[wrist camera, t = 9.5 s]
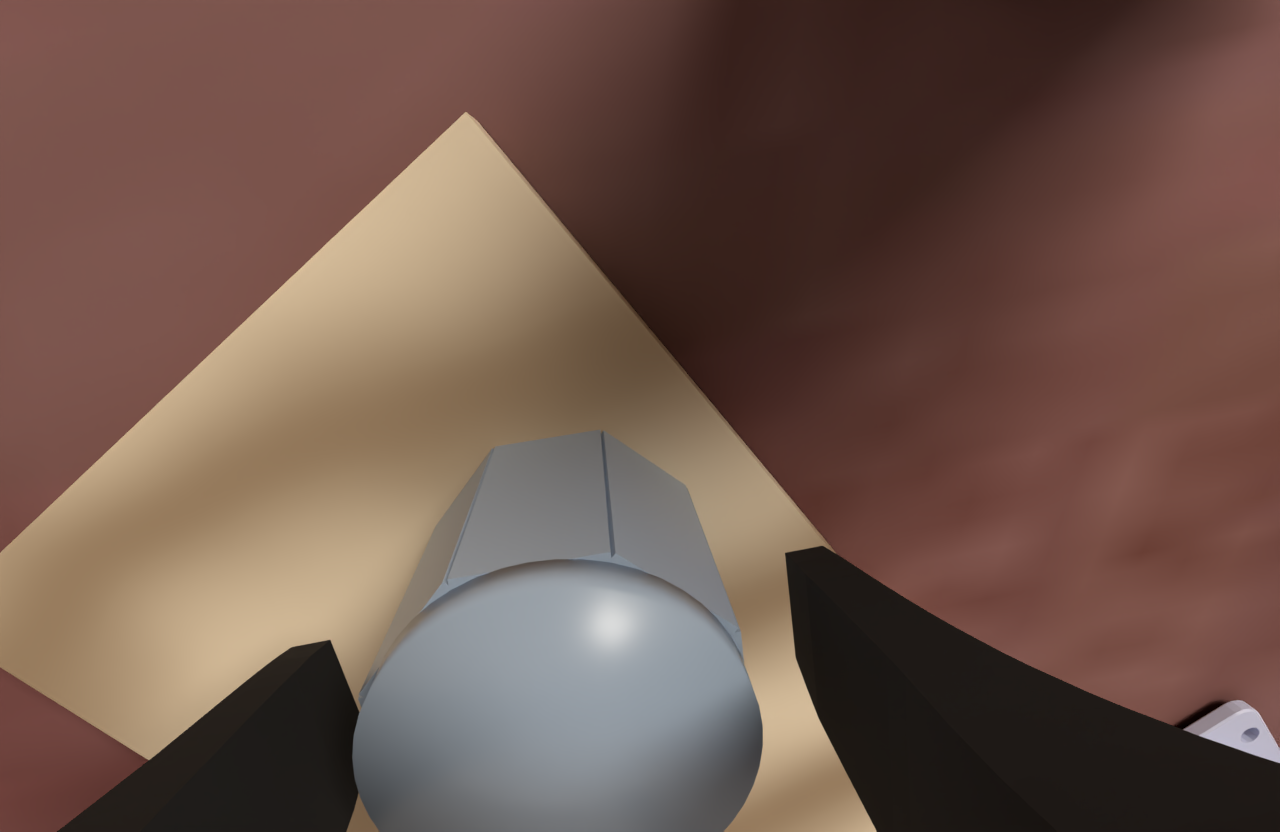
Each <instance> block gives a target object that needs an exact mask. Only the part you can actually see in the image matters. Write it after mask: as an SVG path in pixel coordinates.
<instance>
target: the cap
mask: <svg viewBox="0 0 1280 832" xmlns="http://www.w3.org/2000/svg"><path fill="white" fill-rule="evenodd" d="M358 700H359V703H360V705H361V710H360V713H359V716H358V720H357V724H356V728H355V732H354V737H353V753H352V760H353V769H354V777H355V781H356V785H357V788H358V792H359V795H360V798H361V801H362V803H363V805H364V807H365V809H366V811H367V813H368V815H369V817H370V819H371V820H372V821H373V823H374V824H375V826H376V827H377V829H378V830H379V831H380V832H724V830H725V829H726V828H727V827H728V826H729V825H730V824H731V822H732V821H733V820H734V818H735V817H736V815H737V814H738V812H739V811H740V810H741V808H742V807H743V805H744V804H745V802H746V800H747V798H748V795H749V793H750V791H751V789H752V787H753V785H754V782H755V779H756V776H757V773H758V770H759V767H760V761H761V755H762V748H763V725H762V719H761V713H760V708H759V704H758V701H757V698H756V695H755V693H754V690H753V687H752V684H751V681H750V679H749V676H748V673H747V670H746V667H745V665H744V657H743V647H742V637H741V630H740V628H739V625H738V622H737V620H736V617H735V614H734V612H733V609H732V606H731V604H730V601H729V598H728V596H727V593H726V590H725V588H724V585H723V582H722V580H721V577H720V574H719V572H718V569H717V566H716V563H715V561H714V558H713V555H712V553H711V550H710V547H709V545H708V542H707V539H706V537H705V534H704V531H703V529H702V526H701V523H700V521H699V518H698V515H697V513H696V510H695V507H694V505H693V502H692V499H691V497H690V494H689V491H688V489H687V488H686V485H685V484H683V483H682V482H680V481H679V480H677V479H676V478H674V477H673V476H671V475H670V474H668V473H667V472H665V471H664V470H662V469H661V468H659V467H658V466H656V465H655V464H653V463H652V462H650V461H649V460H647V459H646V458H644V457H643V456H641V455H640V454H638V453H637V452H635V451H634V450H632V449H631V448H629V447H628V446H626V445H625V444H623V443H622V442H620V441H619V440H617V439H616V438H614V437H613V436H611V435H610V434H608V433H607V432H605V431H603V432H602V433H601V431H600V430H595V431H588V432H582V433H576V434H570V435H563V436H557V437H551V438H545V439H539V440H532V441H526V442H520V443H514V444H507V445H501V446H495V448H494V449H493V448H492V449H491V451H490V452H489V453H488V455H487V456H486V458H485V459H484V460H483V462H482V463H481V464H480V466H479V467H478V469H477V470H476V471H475V473H474V474H473V475H472V477H471V478H470V480H469V481H468V482H467V484H466V485H465V487H464V488H463V489H462V491H461V492H460V493H459V495H458V496H457V498H456V499H455V500H454V502H453V503H452V504H451V506H450V507H449V509H448V510H447V511H446V513H445V514H444V516H443V517H442V518H441V520H440V521H439V522H438V524H437V525H436V527H435V529H434V531H433V533H432V535H431V538H430V540H429V542H428V544H427V546H426V548H425V551H424V553H423V555H422V557H421V559H420V562H419V564H418V566H417V568H416V570H415V573H414V575H413V577H412V579H411V581H410V583H409V586H408V588H407V590H406V592H405V594H404V597H403V599H402V601H401V603H400V605H399V608H398V610H397V612H396V614H395V616H394V618H393V621H392V623H391V625H390V627H389V629H388V632H387V634H386V636H385V638H384V640H383V642H382V645H381V647H380V649H379V651H378V653H377V656H376V658H375V660H374V662H373V664H372V667H371V669H370V671H369V673H368V675H367V677H366V680H365V682H364V684H363V686H362V688H361V691H360V693H359V698H358Z"/></svg>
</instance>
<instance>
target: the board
mask: <svg viewBox="0 0 1280 832" xmlns="http://www.w3.org/2000/svg"><path fill="white" fill-rule="evenodd" d="M595 430H600V431H601V433H602V432H603V431H605V432H607V433H608V434H610V435H611V436H613V437H614V438H616V439H617V440H619V441H620V442H622V443H623V444H625V445H626V446H628V447H629V448H631V449H632V450H634V451H635V452H637V453H638V454H640V455H641V456H643V457H644V458H646V459H647V460H649V461H650V462H652V463H653V464H655V465H656V466H658V467H659V468H661V469H662V470H664V471H665V472H667V473H668V474H670V475H671V476H673V477H674V478H676V479H677V480H679V481H680V482H682V483H683V484H685V485H686V488H687V489H688V491H689V494H690V497H691V499H692V502H693V505H694V507H695V510H696V513H697V515H698V518H699V521H700V523H701V526H702V529H703V531H704V534H705V537H706V539H707V542H708V545H709V547H710V550H711V553H712V555H713V558H714V561H715V563H716V566H717V569H718V572H719V574H720V577H721V580H722V582H723V585H724V588H725V590H726V593H727V596H728V598H729V601H730V604H731V606H732V609H733V612H734V614H735V617H736V620H737V622H738V625H739V628H740V630H741V637H742V647H743V657H744V665H745V667H746V670H747V673H748V676H749V679H750V681H751V684H752V687H753V690H754V693H755V695H756V698H757V701H758V704H759V708H760V713H761V719H762V725H763V748H762V755H761V761H760V767H759V770H758V773H757V776H756V779H755V782H754V785H753V787H752V789H751V791H750V793H749V795H748V798H747V800H746V802H745V804H744V805H743V807H742V808H741V810H740V811H739V812H738V814H737V815H736V817H735V818H734V820H733V821H732V822H731V824H730V825H729V826H728V827H727V828H726V829H725V830H724V832H877V831H876V829H875V827H874V825H873V823H872V821H871V819H870V818H869V816H868V814H867V812H866V810H865V808H864V806H863V804H862V802H861V800H860V798H859V796H858V794H857V792H856V791H855V789H854V787H853V785H852V783H851V781H850V779H849V777H848V775H847V773H846V771H845V769H844V767H843V765H842V763H841V761H840V760H839V758H838V756H837V754H836V752H835V750H834V748H833V746H832V744H831V742H830V740H829V738H828V736H827V734H826V732H825V730H824V728H823V726H822V724H821V722H820V720H819V718H818V716H817V713H816V710H815V708H814V705H813V703H812V700H811V698H810V695H809V692H808V690H807V687H806V684H805V682H804V679H803V676H802V674H801V671H800V668H799V666H798V663H797V660H796V657H795V647H794V637H793V627H792V617H791V608H790V598H789V588H788V578H787V568H786V558H785V553H787V552H792V551H797V550H802V549H808V548H813V547H818V546H824V547H826V548H828V549H829V550H831V551H832V552H834V553H836V552H835V551H834V550H833V549H832V547H831V546H830V545H829V544H828V543H827V541H826V540H825V539H824V538H823V537H822V535H821V534H820V533H819V532H818V531H817V529H816V528H815V527H814V526H813V525H812V523H811V522H810V521H809V520H808V519H807V517H806V516H805V515H804V514H803V513H802V511H801V510H800V509H799V508H798V506H797V505H796V504H795V503H794V502H793V500H792V499H791V498H790V497H789V496H788V494H787V493H786V492H785V491H784V490H783V488H782V487H781V486H780V485H779V484H778V482H777V481H776V480H775V479H774V478H773V476H772V475H771V474H770V473H769V472H768V470H767V469H766V468H765V467H764V466H763V464H762V463H761V462H760V461H759V460H758V458H757V457H756V456H755V455H754V453H753V452H752V451H751V450H750V449H749V447H748V446H747V445H746V444H745V443H744V441H743V440H742V439H741V438H740V437H739V435H738V434H737V433H736V432H735V431H734V429H733V428H732V427H731V426H730V425H729V423H728V422H727V421H726V420H725V419H724V417H723V416H722V415H721V414H720V413H719V411H718V410H717V409H716V408H715V407H714V405H713V404H712V403H711V402H710V401H709V399H708V398H707V397H706V396H705V394H704V393H703V392H702V391H701V390H700V388H699V387H698V386H697V385H696V384H695V382H694V381H693V380H692V379H691V378H690V376H689V375H688V374H687V373H686V372H685V370H684V369H683V368H682V367H681V366H680V364H679V363H678V362H677V361H676V360H675V358H674V357H673V356H672V355H671V354H670V352H669V351H668V350H667V349H666V348H665V346H664V345H663V344H662V343H661V341H660V340H659V339H658V338H657V337H656V335H655V334H654V333H653V332H652V331H651V329H650V328H649V327H648V326H647V325H646V323H645V322H644V321H643V320H642V319H641V317H640V316H639V315H638V314H637V313H636V311H635V310H634V309H633V308H632V307H631V305H630V304H629V303H628V302H627V301H626V299H625V298H624V297H623V296H622V295H621V293H620V292H619V291H618V290H617V288H616V287H615V286H614V285H613V284H612V282H611V281H610V280H609V279H608V278H607V276H606V275H605V274H604V273H603V272H602V270H601V269H600V268H599V267H598V266H597V264H596V263H595V262H594V261H593V260H592V258H591V257H590V256H589V255H588V254H587V252H586V251H585V250H584V249H583V248H582V246H581V245H580V244H579V243H578V242H577V240H576V239H575V238H574V237H573V235H572V234H571V233H570V232H569V231H568V229H567V228H566V227H565V226H564V225H563V223H562V222H561V221H560V220H559V219H558V217H557V216H556V215H555V214H554V213H553V211H552V210H551V209H550V208H549V207H548V205H547V204H546V203H545V202H544V201H543V199H542V198H541V197H540V196H539V195H538V193H537V192H536V191H535V190H534V189H533V187H532V186H531V185H530V184H529V183H528V181H527V180H526V179H525V178H524V176H523V175H522V174H521V173H520V172H519V170H518V169H517V168H516V167H515V166H514V164H513V163H512V162H511V161H510V160H509V158H508V157H507V156H506V155H505V154H504V152H503V151H502V150H501V149H500V148H499V146H498V145H497V144H496V143H495V142H494V140H493V139H492V138H491V137H490V136H489V134H488V133H487V132H486V131H485V130H484V128H483V127H482V126H481V125H480V123H479V122H478V121H477V120H475V119H474V118H473V117H472V116H470V115H469V114H468V113H467V112H465V113H464V114H463V115H462V116H461V117H460V118H459V119H458V120H457V121H456V122H455V123H454V124H453V125H451V126H450V127H449V128H448V129H447V130H446V131H445V132H444V133H443V134H442V135H441V136H440V137H439V138H438V139H437V140H436V141H435V142H434V143H432V144H431V145H430V146H429V147H428V148H427V149H426V150H425V151H424V152H423V153H422V154H421V155H420V156H419V157H418V158H417V159H416V160H415V161H413V162H412V163H411V164H410V165H409V166H408V167H407V168H406V169H405V170H404V171H403V172H402V173H401V174H400V175H399V176H398V177H397V178H396V179H394V180H393V181H392V182H391V183H390V184H389V185H388V186H387V187H386V188H385V189H384V190H383V191H382V192H381V193H380V194H379V195H378V196H377V197H375V198H374V199H373V200H372V201H371V202H370V203H369V204H368V205H367V206H366V207H365V208H364V209H363V210H362V211H361V212H360V213H359V214H358V215H356V216H355V217H354V218H353V219H352V220H351V221H350V222H349V223H348V224H347V225H346V226H345V227H344V228H343V229H342V230H341V231H340V232H339V233H337V234H336V235H335V236H334V237H333V238H332V239H331V240H330V241H329V242H328V243H327V244H326V245H325V246H324V247H323V248H322V249H321V250H320V251H318V252H317V253H316V254H315V255H314V256H313V257H312V258H311V259H310V260H309V261H308V262H307V263H306V264H305V265H304V266H303V267H302V268H301V269H299V270H298V271H297V272H296V273H295V274H294V275H293V276H292V277H291V278H290V279H289V280H288V281H287V282H286V283H285V284H284V285H283V286H282V287H280V288H279V289H278V290H277V291H276V292H275V293H274V294H273V295H272V296H271V297H270V298H269V299H268V300H267V301H266V302H265V303H264V304H263V305H261V306H260V307H259V308H258V309H257V310H256V311H255V312H254V313H253V314H252V315H251V316H250V317H249V318H248V319H247V320H246V321H245V322H244V323H242V324H241V325H240V326H239V327H238V328H237V329H236V330H235V331H234V332H233V333H232V334H231V335H230V336H229V337H228V338H227V339H226V340H225V341H223V342H222V343H221V344H220V345H219V346H218V347H217V348H216V349H215V350H214V351H213V352H212V353H211V354H210V355H209V356H208V357H207V358H205V359H204V360H203V361H202V362H201V363H200V364H199V365H198V366H197V367H196V368H195V369H194V370H193V371H192V372H191V373H190V374H189V375H188V376H186V377H185V378H184V379H183V380H182V381H181V382H180V383H179V384H178V385H177V386H176V387H175V388H174V389H173V390H172V391H171V392H170V393H169V394H167V395H166V396H165V397H164V398H163V399H162V400H161V401H160V402H159V403H158V404H157V405H156V406H155V407H154V408H153V409H152V410H151V411H150V412H148V413H147V414H146V415H145V416H144V417H143V418H142V419H141V420H140V421H139V422H138V423H137V424H136V425H135V426H134V427H133V428H132V429H131V430H129V431H128V432H127V433H126V434H125V435H124V436H123V437H122V438H121V439H120V440H119V441H118V442H117V443H116V444H115V445H114V446H113V447H112V448H110V449H109V450H108V451H107V452H106V453H105V454H104V455H103V456H102V457H101V458H100V459H99V460H98V461H97V462H96V463H95V464H94V465H93V466H91V467H90V468H89V469H88V470H87V471H86V472H85V473H84V474H83V475H82V476H81V477H80V478H79V479H78V480H77V481H76V482H75V483H74V484H72V485H71V486H70V487H69V488H68V489H67V490H66V491H65V492H64V493H63V494H62V495H61V496H60V497H59V498H58V499H57V500H56V501H55V502H53V503H52V504H51V505H50V506H49V507H48V508H47V509H46V510H45V511H44V512H43V513H42V514H41V515H40V516H39V517H38V518H37V519H36V520H34V521H33V522H32V523H31V524H30V525H29V526H28V527H27V528H26V529H25V530H24V531H23V532H22V533H21V534H20V535H19V536H18V537H17V538H15V539H14V540H13V541H12V542H11V543H10V544H9V545H8V546H7V547H6V548H5V549H4V550H3V551H2V552H1V553H0V667H1V668H2V669H4V670H6V671H7V672H9V673H10V674H12V675H13V676H15V677H17V678H18V679H20V680H21V681H23V682H25V683H26V684H28V685H29V686H31V687H33V688H34V689H36V690H37V691H39V692H41V693H42V694H44V695H45V696H47V697H49V698H50V699H52V700H53V701H55V702H57V703H58V704H60V705H61V706H63V707H65V708H66V709H68V710H69V711H71V712H73V713H74V714H76V715H77V716H79V717H81V718H82V719H84V720H85V721H87V722H89V723H90V724H92V725H93V726H95V727H96V728H98V729H100V730H101V731H103V732H104V733H106V734H108V735H109V736H111V737H112V738H114V739H116V740H117V741H119V742H120V743H122V744H124V745H125V746H127V747H128V748H130V749H132V750H133V751H135V752H136V753H138V754H140V755H141V756H143V757H144V758H146V759H148V760H150V759H151V758H152V757H154V756H155V755H156V754H157V753H159V752H160V751H161V750H162V749H164V748H165V747H166V746H167V745H168V744H170V743H171V742H172V741H173V740H175V739H176V738H177V737H178V736H179V735H181V734H182V733H183V732H184V731H186V730H187V729H188V728H189V727H190V726H192V725H193V724H194V723H195V722H197V721H198V720H199V719H200V718H201V717H203V716H204V715H205V714H206V713H208V712H209V711H210V710H211V709H212V708H214V707H215V706H216V705H217V704H219V703H220V702H221V701H222V700H223V699H225V698H226V697H227V696H228V695H229V694H231V693H232V692H233V691H234V690H236V689H237V688H238V687H239V686H241V685H242V684H243V683H244V682H245V681H247V680H248V679H249V678H251V677H252V676H253V675H254V674H256V673H257V672H258V671H259V670H261V669H262V668H263V667H265V666H266V665H267V664H268V663H270V662H271V661H272V660H274V659H275V658H276V657H278V656H279V655H281V654H282V653H284V652H285V651H287V650H288V649H289V648H291V647H295V646H300V645H305V644H311V643H316V642H321V641H326V640H331V643H332V645H333V648H334V650H335V653H336V655H337V658H338V660H339V663H340V665H341V668H342V670H343V673H344V675H345V678H346V680H347V683H348V685H349V687H350V690H351V692H352V695H353V697H354V700H355V702H356V705H357V707H358V710H359V712H360V710H361V705H360V703H359V700H358V698H359V693H360V691H361V688H362V686H363V684H364V682H365V680H366V677H367V675H368V673H369V671H370V669H371V667H372V664H373V662H374V660H375V658H376V656H377V653H378V651H379V649H380V647H381V645H382V642H383V640H384V638H385V636H386V634H387V632H388V629H389V627H390V625H391V623H392V621H393V618H394V616H395V614H396V612H397V610H398V608H399V605H400V603H401V601H402V599H403V597H404V594H405V592H406V590H407V588H408V586H409V583H410V581H411V579H412V577H413V575H414V573H415V570H416V568H417V566H418V564H419V562H420V559H421V557H422V555H423V553H424V551H425V548H426V546H427V544H428V542H429V540H430V538H431V535H432V533H433V531H434V529H435V527H436V525H437V524H438V522H439V521H440V520H441V518H442V517H443V516H444V514H445V513H446V511H447V510H448V509H449V507H450V506H451V504H452V503H453V502H454V500H455V499H456V498H457V496H458V495H459V493H460V492H461V491H462V489H463V488H464V487H465V485H466V484H467V482H468V481H469V480H470V478H471V477H472V475H473V474H474V473H475V471H476V470H477V469H478V467H479V466H480V464H481V463H482V462H483V460H484V459H485V458H486V456H487V455H488V453H489V452H490V451H491V449H492V448H493V449H494V448H495V446H501V445H507V444H514V443H520V442H526V441H532V440H539V439H545V438H551V437H557V436H563V435H570V434H576V433H582V432H588V431H595ZM836 554H837V553H836ZM346 832H380V831H379V830H378V829H377V827H376V826H375V824H374V823H373V821H372V820H371V819H370V817H369V815H368V813H367V811H366V809H365V807H364V805H363V803H362V801H361V798H360V795H359V793H358V797H357V801H356V805H355V809H354V812H353V815H352V817H351V820H350V823H349V826H348V829H347V831H346Z"/></svg>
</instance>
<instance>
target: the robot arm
mask: <svg viewBox="0 0 1280 832" xmlns="http://www.w3.org/2000/svg"><path fill="white" fill-rule="evenodd" d="M785 558H786V568H787V578H788V588H789V598H790V608H791V617H792V627H793V637H794V647H795V657H796V660H797V663H798V666H799V668H800V671H801V674H802V676H803V679H804V682H805V684H806V687H807V690H808V692H809V695H810V698H811V700H812V703H813V705H814V708H815V710H816V713H817V716H818V718H819V720H820V722H821V724H822V726H823V728H824V730H825V732H826V734H827V736H828V738H829V740H830V742H831V744H832V746H833V748H834V750H835V752H836V754H837V756H838V758H839V760H840V761H841V763H842V765H843V767H844V769H845V771H846V773H847V775H848V777H849V779H850V781H851V783H852V785H853V787H854V789H855V791H856V792H857V794H858V796H859V798H860V800H861V802H862V804H863V806H864V808H865V810H866V812H867V814H868V816H869V818H870V819H871V821H872V823H873V825H874V827H875V829H876V831H877V832H1280V749H1279V747H1278V745H1277V743H1276V742H1275V740H1274V738H1273V737H1272V735H1271V733H1270V731H1269V730H1268V728H1267V726H1266V725H1265V723H1264V721H1263V719H1262V718H1261V716H1260V714H1259V713H1258V712H1257V711H1256V710H1255V709H1253V708H1252V707H1251V706H1249V705H1248V704H1247V703H1245V702H1244V701H1240V700H1234V701H1229V702H1227V703H1225V704H1223V705H1221V706H1220V707H1218V708H1216V709H1215V710H1213V711H1211V712H1210V713H1208V714H1207V715H1205V716H1203V717H1202V718H1200V719H1199V720H1197V721H1195V722H1194V723H1192V724H1191V725H1189V726H1187V727H1186V728H1184V729H1180V728H1177V727H1175V726H1172V725H1169V724H1167V723H1164V722H1161V721H1159V720H1156V719H1154V718H1151V717H1148V716H1146V715H1143V714H1140V713H1138V712H1135V711H1133V710H1130V709H1127V708H1125V707H1122V706H1120V705H1117V704H1115V703H1113V702H1110V701H1108V700H1105V699H1103V698H1100V697H1098V696H1096V695H1093V694H1091V693H1089V692H1086V691H1084V690H1082V689H1080V688H1077V687H1075V686H1073V685H1071V684H1068V683H1066V682H1064V681H1062V680H1060V679H1057V678H1055V677H1053V676H1051V675H1049V674H1046V673H1044V672H1042V671H1040V670H1038V669H1035V668H1033V667H1031V666H1029V665H1027V664H1025V663H1023V662H1021V661H1019V660H1017V659H1014V658H1012V657H1010V656H1008V655H1006V654H1004V653H1002V652H1000V651H998V650H997V649H995V648H993V647H991V646H989V645H987V644H985V643H983V642H982V641H980V640H978V639H976V638H974V637H972V636H970V635H968V634H967V633H965V632H963V631H961V630H959V629H957V628H955V627H954V626H952V625H950V624H948V623H947V622H945V621H943V620H941V619H940V618H938V617H936V616H934V615H933V614H931V613H929V612H927V611H926V610H924V609H922V608H921V607H919V606H917V605H916V604H914V603H912V602H911V601H909V600H907V599H906V598H904V597H903V596H901V595H899V594H898V593H896V592H895V591H893V590H891V589H890V588H888V587H887V586H885V585H883V584H882V583H880V582H879V581H877V580H876V579H874V578H872V577H871V576H869V575H868V574H866V573H865V572H863V571H862V570H860V569H859V568H857V567H855V566H854V565H852V564H851V563H849V562H848V561H846V560H845V559H843V558H842V557H840V556H839V555H837V554H836V553H834V552H832V551H831V550H829V549H828V548H826V547H824V546H818V547H813V548H808V549H802V550H797V551H792V552H787V553H785ZM359 713H360V712H359V710H358V707H357V705H356V702H355V700H354V697H353V695H352V692H351V690H350V687H349V685H348V683H347V680H346V678H345V675H344V673H343V670H342V668H341V665H340V663H339V660H338V658H337V655H336V653H335V650H334V648H333V645H332V643H331V640H326V641H321V642H316V643H311V644H305V645H300V646H295V647H291V648H289V649H288V650H287V651H285V652H284V653H282V654H281V655H279V656H278V657H276V658H275V659H274V660H272V661H271V662H270V663H268V664H267V665H266V666H265V667H263V668H262V669H261V670H259V671H258V672H257V673H256V674H254V675H253V676H252V677H251V678H249V679H248V680H247V681H245V682H244V683H243V684H242V685H241V686H239V687H238V688H237V689H236V690H234V691H233V692H232V693H231V694H229V695H228V696H227V697H226V698H225V699H223V700H222V701H221V702H220V703H219V704H217V705H216V706H215V707H214V708H212V709H211V710H210V711H209V712H208V713H206V714H205V715H204V716H203V717H201V718H200V719H199V720H198V721H197V722H195V723H194V724H193V725H192V726H190V727H189V728H188V729H187V730H186V731H184V732H183V733H182V734H181V735H179V736H178V737H177V738H176V739H175V740H173V741H172V742H171V743H170V744H168V745H167V746H166V747H165V748H164V749H162V750H161V751H160V752H159V753H157V754H156V755H155V756H154V757H152V758H151V759H150V760H149V761H148V762H146V763H145V764H144V765H142V766H141V767H140V768H139V769H137V770H136V771H135V772H133V773H132V774H131V775H130V776H128V777H127V778H126V779H124V780H123V781H122V782H121V783H119V784H118V785H117V786H115V787H114V788H113V789H112V790H110V791H109V792H108V793H106V794H105V795H104V796H103V797H101V798H100V799H99V800H97V801H96V802H95V803H94V804H92V805H91V806H90V807H88V808H87V809H86V810H85V811H83V812H82V813H81V814H79V815H78V816H77V817H76V818H74V819H73V820H72V821H70V822H69V823H68V824H67V825H65V826H64V827H63V828H61V829H60V830H59V831H57V832H346V831H347V829H348V826H349V823H350V820H351V817H352V815H353V812H354V809H355V805H356V801H357V797H358V793H359V792H358V788H357V785H356V781H355V777H354V769H353V760H352V753H353V737H354V732H355V728H356V724H357V720H358V716H359Z"/></svg>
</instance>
